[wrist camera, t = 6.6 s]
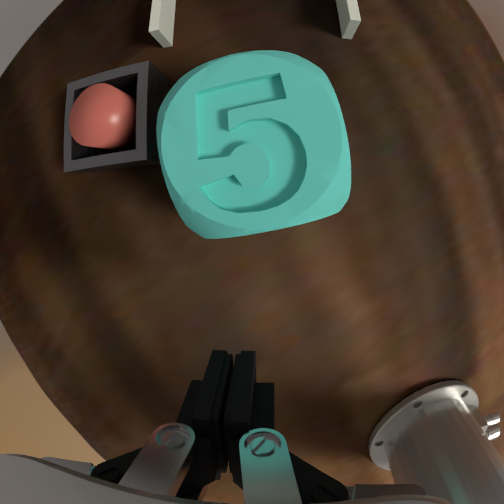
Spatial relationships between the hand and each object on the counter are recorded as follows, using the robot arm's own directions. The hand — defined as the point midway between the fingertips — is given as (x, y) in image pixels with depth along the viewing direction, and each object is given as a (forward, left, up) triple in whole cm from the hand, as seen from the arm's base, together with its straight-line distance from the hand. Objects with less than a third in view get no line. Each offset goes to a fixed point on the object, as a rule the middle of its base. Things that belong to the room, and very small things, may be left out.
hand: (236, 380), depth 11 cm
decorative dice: (-1, -9, -11) cm, 14 cm away
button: (+9, -12, -9) cm, 18 cm away
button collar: (+9, -12, -10) cm, 19 cm away
